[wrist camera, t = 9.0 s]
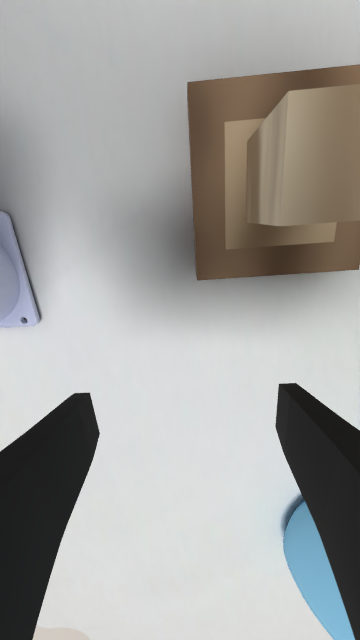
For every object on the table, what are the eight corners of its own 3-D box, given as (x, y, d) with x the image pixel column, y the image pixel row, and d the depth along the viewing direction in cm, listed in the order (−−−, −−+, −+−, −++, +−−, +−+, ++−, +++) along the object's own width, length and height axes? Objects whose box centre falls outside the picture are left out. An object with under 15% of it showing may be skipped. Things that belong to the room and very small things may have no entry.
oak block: (245, 222, 15) (279, 226, 10) (247, 141, 14) (288, 90, 8) (315, 216, 15) (391, 218, 9) (325, 134, 14) (421, 77, 8)
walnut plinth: (196, 273, 19) (197, 280, 17) (187, 99, 15) (187, 81, 13) (341, 264, 18) (359, 269, 16) (369, 80, 14) (397, 59, 12)
